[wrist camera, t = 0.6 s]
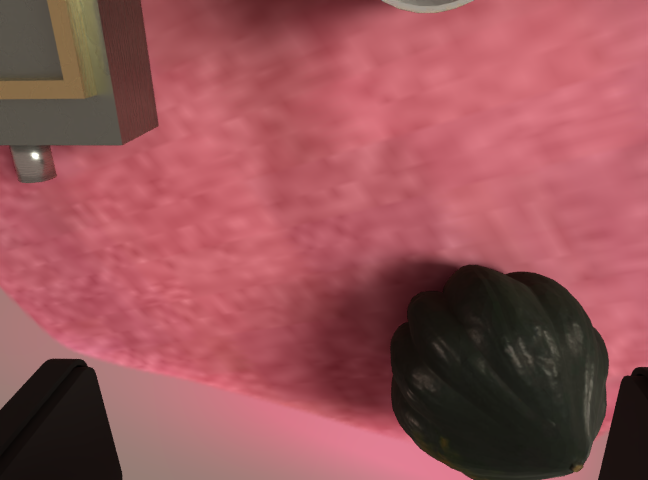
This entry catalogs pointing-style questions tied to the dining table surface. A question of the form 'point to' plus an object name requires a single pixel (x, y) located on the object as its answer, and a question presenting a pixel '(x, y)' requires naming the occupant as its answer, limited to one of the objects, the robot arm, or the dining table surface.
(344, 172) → the dining table surface
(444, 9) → the coffee mug
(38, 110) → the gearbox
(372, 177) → the dining table surface
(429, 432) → the squash
